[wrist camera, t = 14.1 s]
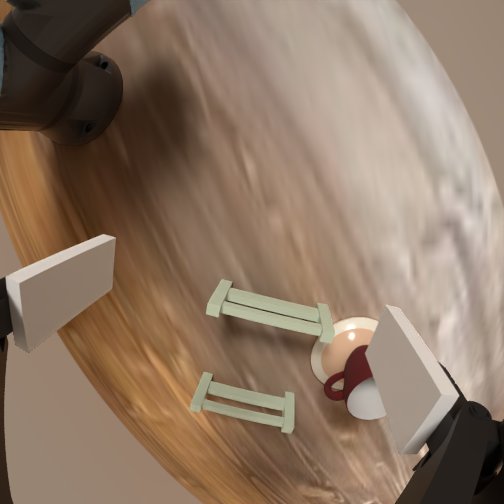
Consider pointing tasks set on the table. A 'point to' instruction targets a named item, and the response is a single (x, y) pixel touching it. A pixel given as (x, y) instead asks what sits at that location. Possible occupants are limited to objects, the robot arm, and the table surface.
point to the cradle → (317, 314)
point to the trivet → (341, 347)
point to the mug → (357, 387)
